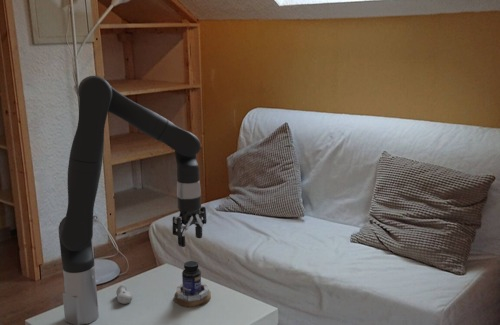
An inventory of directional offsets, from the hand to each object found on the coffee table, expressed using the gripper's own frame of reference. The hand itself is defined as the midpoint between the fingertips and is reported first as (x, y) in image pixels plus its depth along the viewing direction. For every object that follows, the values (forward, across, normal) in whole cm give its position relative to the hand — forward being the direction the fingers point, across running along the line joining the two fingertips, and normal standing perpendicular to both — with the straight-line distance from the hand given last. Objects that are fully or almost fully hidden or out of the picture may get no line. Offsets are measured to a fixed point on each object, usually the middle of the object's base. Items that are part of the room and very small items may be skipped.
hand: (190, 242), depth 172 cm
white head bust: (+20, +13, -18) cm, 30 cm away
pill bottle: (+19, 0, 0) cm, 19 cm away
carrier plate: (+20, 0, 0) cm, 20 cm away
